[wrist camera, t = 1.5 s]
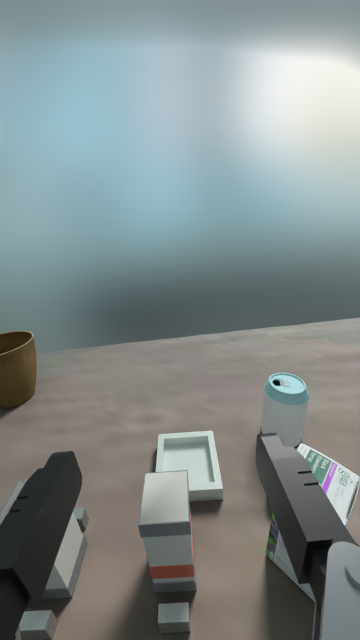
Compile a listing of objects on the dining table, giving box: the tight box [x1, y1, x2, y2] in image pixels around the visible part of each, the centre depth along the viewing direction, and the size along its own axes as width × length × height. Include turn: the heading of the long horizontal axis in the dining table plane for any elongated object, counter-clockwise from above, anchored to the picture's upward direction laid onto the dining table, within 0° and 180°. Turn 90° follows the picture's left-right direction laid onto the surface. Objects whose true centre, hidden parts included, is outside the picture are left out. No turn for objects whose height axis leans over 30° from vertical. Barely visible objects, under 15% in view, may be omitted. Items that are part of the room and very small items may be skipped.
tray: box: [156, 431, 223, 501], centre depth 37 cm, size 10×10×2 cm
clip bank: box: [19, 508, 190, 640], centre depth 26 cm, size 32×15×2 cm, turn 91°
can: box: [261, 373, 309, 447], centre depth 40 cm, size 7×7×12 cm
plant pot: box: [0, 331, 36, 408], centre depth 55 cm, size 15×15×16 cm
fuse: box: [0, 480, 88, 600], centre depth 25 cm, size 5×5×13 cm
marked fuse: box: [138, 470, 197, 593], centre depth 25 cm, size 5×5×13 cm
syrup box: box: [266, 443, 360, 602], centre depth 24 cm, size 6×6×14 cm
